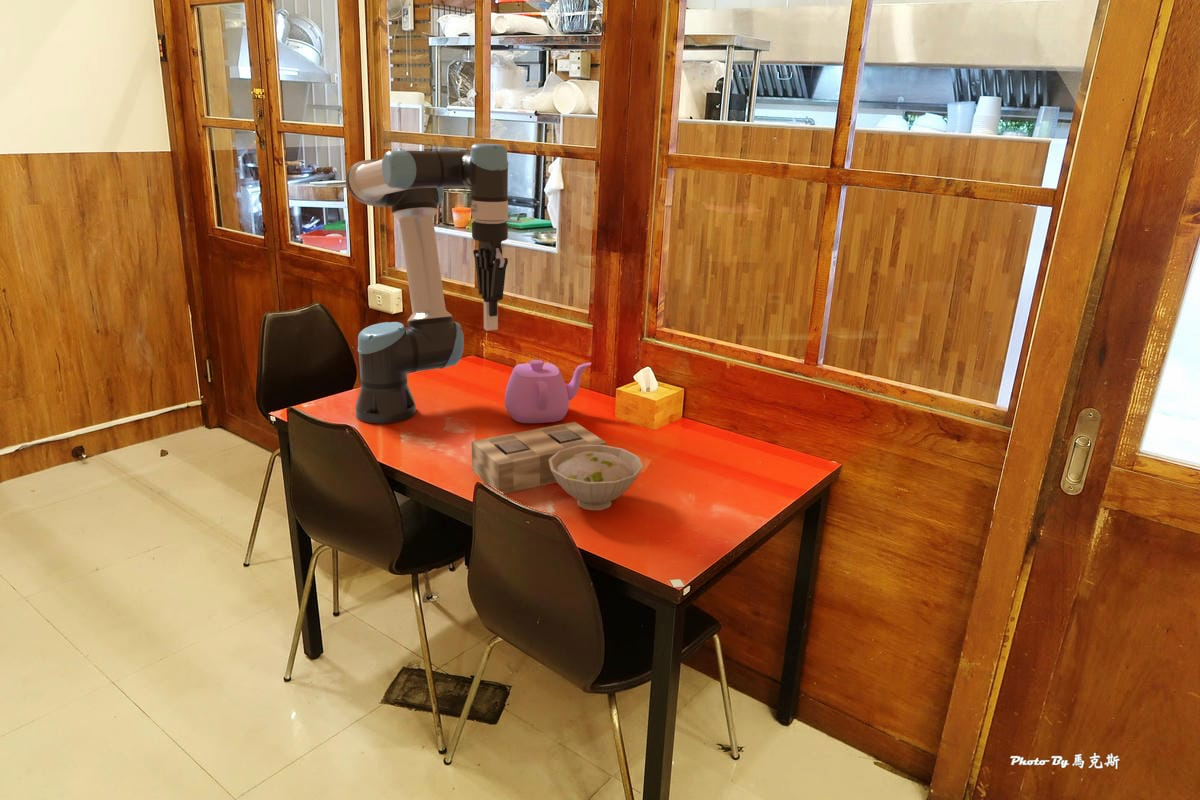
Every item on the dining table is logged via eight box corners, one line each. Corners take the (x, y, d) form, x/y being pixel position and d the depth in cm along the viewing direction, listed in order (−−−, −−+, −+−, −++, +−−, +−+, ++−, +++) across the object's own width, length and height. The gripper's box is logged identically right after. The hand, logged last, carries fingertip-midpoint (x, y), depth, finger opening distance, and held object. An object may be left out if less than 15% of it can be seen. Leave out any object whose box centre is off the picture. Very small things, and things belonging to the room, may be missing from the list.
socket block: (472, 470, 177) (471, 441, 174) (574, 449, 190) (574, 421, 187) (498, 495, 165) (498, 464, 163) (605, 471, 178) (606, 442, 176)
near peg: (497, 471, 175) (496, 444, 173) (517, 467, 177) (517, 440, 175) (506, 480, 171) (506, 452, 169) (527, 475, 173) (527, 448, 171)
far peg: (549, 460, 181) (549, 433, 179) (568, 456, 184) (569, 430, 182) (560, 468, 177) (560, 441, 175) (579, 464, 180) (580, 437, 178)
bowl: (567, 532, 152) (568, 484, 148) (534, 490, 168) (534, 446, 165) (657, 515, 159) (660, 470, 156) (617, 476, 176) (619, 434, 172)
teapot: (511, 435, 197) (510, 377, 192) (501, 406, 216) (500, 352, 211) (600, 430, 202) (602, 373, 197) (583, 402, 221) (584, 349, 216)
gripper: (461, 217, 171) (463, 323, 179) (485, 225, 161) (487, 338, 169) (493, 216, 175) (494, 320, 183) (519, 224, 164) (519, 334, 173)
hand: (490, 329), depth 176 cm, fingers closed
